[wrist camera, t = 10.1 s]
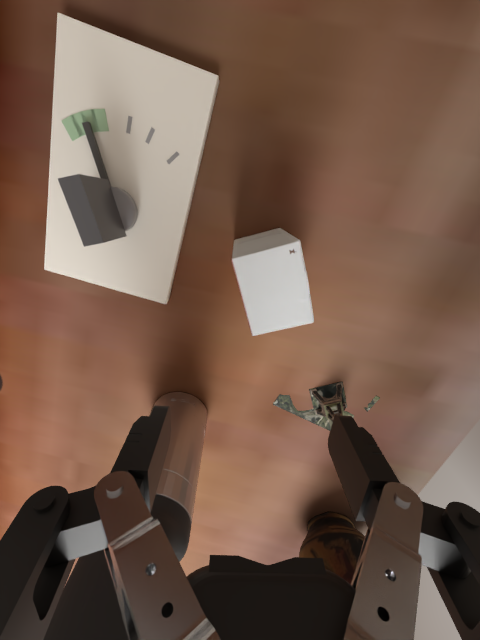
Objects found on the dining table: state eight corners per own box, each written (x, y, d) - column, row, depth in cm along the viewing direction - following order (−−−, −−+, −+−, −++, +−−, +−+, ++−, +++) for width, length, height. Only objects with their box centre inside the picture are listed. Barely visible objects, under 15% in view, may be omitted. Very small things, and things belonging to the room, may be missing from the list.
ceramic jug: (280, 542, 60) (314, 828, 33) (310, 495, 55) (383, 792, 27) (350, 558, 63) (439, 838, 35) (386, 514, 57) (525, 807, 29)
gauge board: (168, 301, 40) (165, 304, 38) (51, 267, 38) (43, 269, 36) (219, 81, 30) (218, 75, 29) (66, 21, 28) (57, 11, 27)
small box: (232, 239, 36) (229, 256, 24) (280, 226, 36) (301, 237, 24) (248, 297, 39) (251, 338, 27) (292, 286, 39) (316, 322, 27)
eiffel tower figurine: (270, 402, 47) (282, 472, 35) (304, 355, 44) (330, 415, 31) (342, 435, 50) (377, 511, 37) (379, 393, 46) (431, 462, 34)
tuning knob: (144, 232, 34) (118, 239, 27) (105, 239, 35) (69, 249, 27) (109, 118, 30) (67, 90, 23) (65, 128, 30) (9, 104, 23)
